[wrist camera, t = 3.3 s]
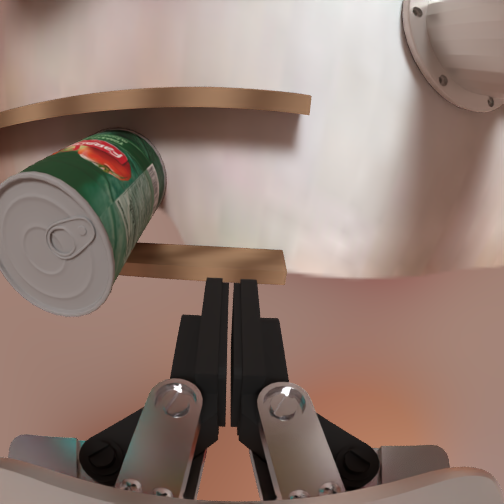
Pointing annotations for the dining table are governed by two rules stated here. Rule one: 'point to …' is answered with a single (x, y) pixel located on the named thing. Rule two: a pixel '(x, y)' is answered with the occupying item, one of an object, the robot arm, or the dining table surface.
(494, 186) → the dining table surface
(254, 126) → the dining table surface
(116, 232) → the canned tomato
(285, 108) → the bay
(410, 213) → the dining table surface
